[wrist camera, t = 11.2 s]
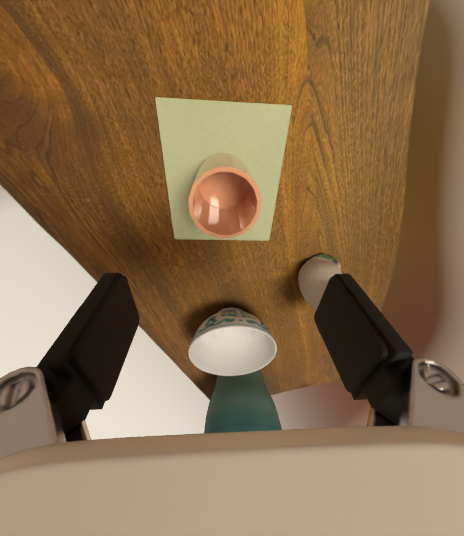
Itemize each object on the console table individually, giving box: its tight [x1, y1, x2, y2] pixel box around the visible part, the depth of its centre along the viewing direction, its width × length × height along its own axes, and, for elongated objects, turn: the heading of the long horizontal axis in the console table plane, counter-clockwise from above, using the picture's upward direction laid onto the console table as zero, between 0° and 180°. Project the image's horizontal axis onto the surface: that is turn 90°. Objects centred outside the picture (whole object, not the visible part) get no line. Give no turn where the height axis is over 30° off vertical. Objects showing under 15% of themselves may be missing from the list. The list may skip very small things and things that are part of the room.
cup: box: [188, 153, 262, 238], centre depth 23 cm, size 7×7×8 cm
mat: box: [155, 97, 292, 240], centre depth 26 cm, size 16×14×1 cm
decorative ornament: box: [298, 253, 342, 333], centre depth 29 cm, size 9×7×15 cm
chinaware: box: [189, 308, 277, 376], centre depth 39 cm, size 15×15×8 cm
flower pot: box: [204, 370, 282, 433], centre depth 49 cm, size 18×18×17 cm
